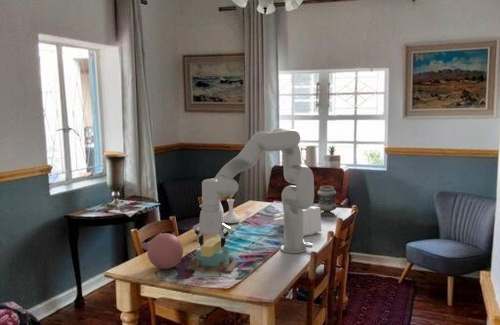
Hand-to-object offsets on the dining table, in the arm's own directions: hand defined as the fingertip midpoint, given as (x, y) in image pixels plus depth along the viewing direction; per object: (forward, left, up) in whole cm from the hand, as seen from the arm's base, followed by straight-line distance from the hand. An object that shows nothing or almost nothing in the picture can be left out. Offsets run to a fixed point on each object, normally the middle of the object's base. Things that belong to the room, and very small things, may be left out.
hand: (212, 245), depth 197 cm
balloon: (+22, +5, -10) cm, 25 cm away
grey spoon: (+12, -72, -10) cm, 74 cm away
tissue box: (-29, -63, -10) cm, 70 cm away
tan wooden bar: (0, 0, -2) cm, 2 cm away
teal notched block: (0, 0, -8) cm, 8 cm away
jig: (0, 0, -9) cm, 9 cm away
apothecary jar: (-44, -100, -10) cm, 110 cm away
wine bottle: (+15, -52, -10) cm, 55 cm away
